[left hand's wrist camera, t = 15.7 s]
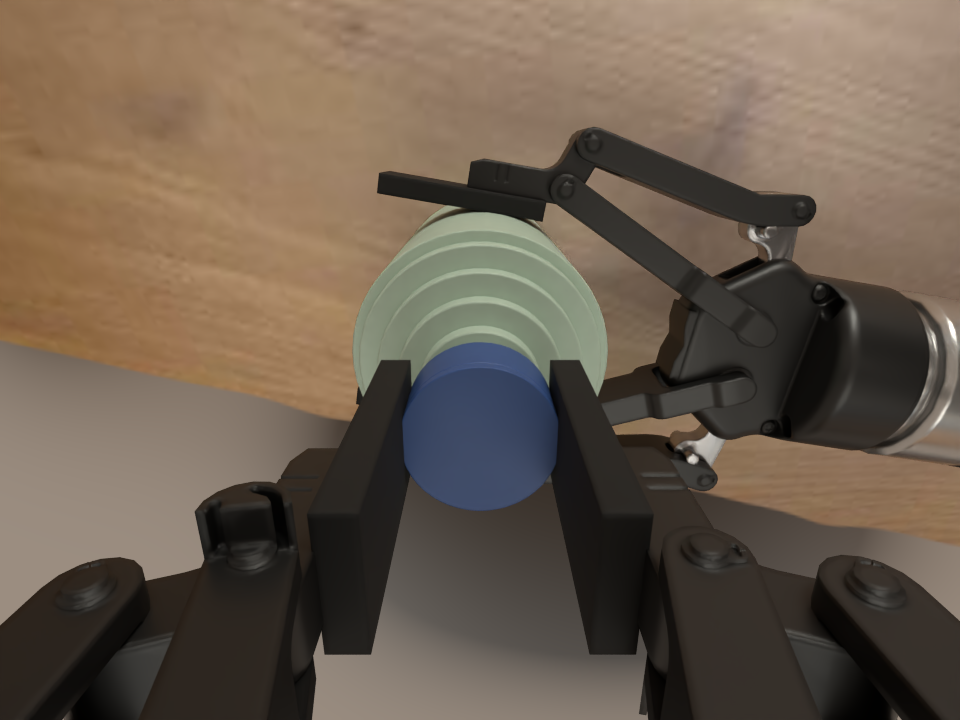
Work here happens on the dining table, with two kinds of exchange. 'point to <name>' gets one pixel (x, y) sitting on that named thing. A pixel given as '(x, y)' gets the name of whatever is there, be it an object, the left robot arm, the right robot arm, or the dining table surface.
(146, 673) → the left robot arm
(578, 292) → the bottle
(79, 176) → the dining table surface
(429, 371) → the cap
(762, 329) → the right robot arm
